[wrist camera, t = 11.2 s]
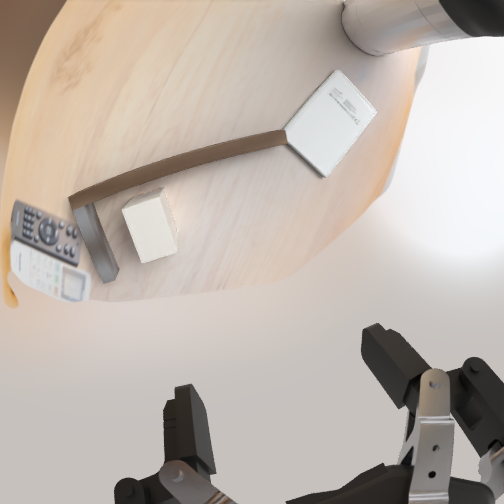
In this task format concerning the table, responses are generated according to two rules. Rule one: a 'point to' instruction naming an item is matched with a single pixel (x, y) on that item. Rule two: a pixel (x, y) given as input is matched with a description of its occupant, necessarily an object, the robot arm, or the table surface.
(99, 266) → the guide fence
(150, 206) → the block
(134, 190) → the table surface
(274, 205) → the table surface
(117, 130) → the table surface
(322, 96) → the external hard drive
